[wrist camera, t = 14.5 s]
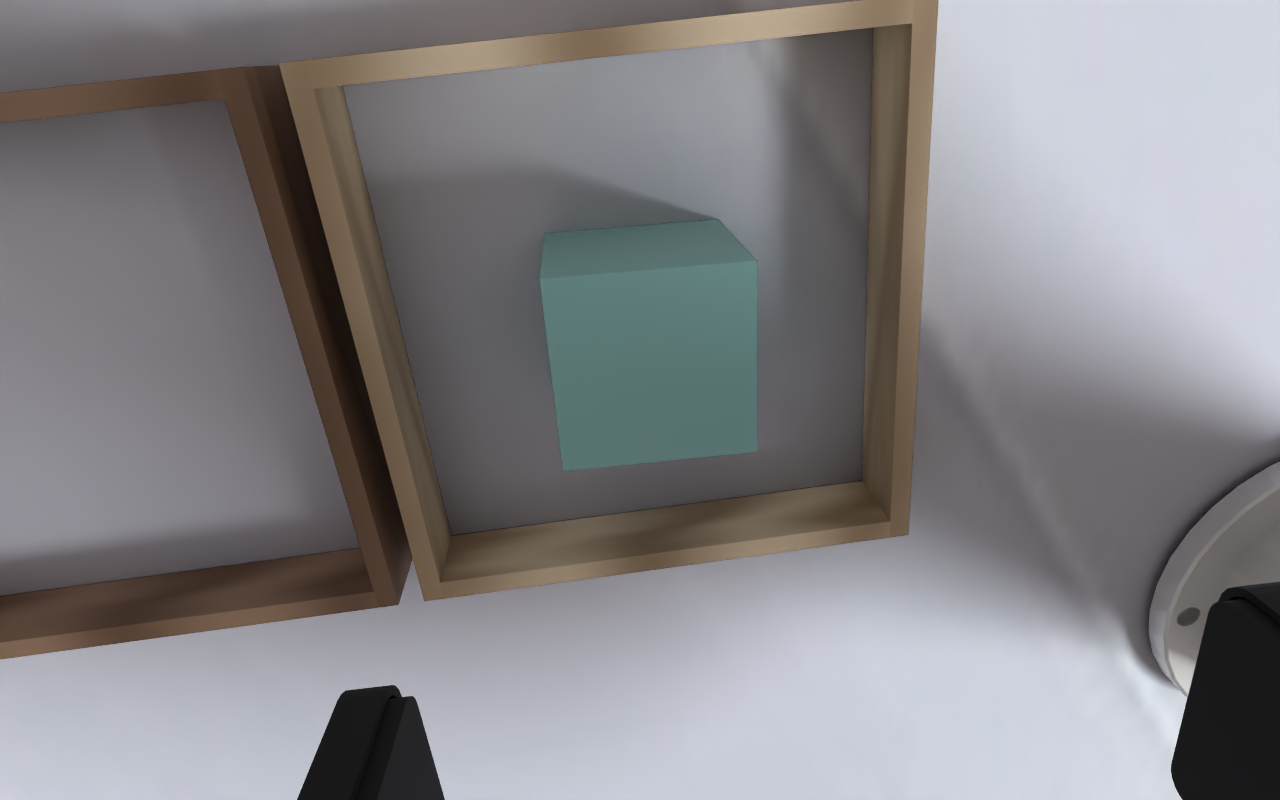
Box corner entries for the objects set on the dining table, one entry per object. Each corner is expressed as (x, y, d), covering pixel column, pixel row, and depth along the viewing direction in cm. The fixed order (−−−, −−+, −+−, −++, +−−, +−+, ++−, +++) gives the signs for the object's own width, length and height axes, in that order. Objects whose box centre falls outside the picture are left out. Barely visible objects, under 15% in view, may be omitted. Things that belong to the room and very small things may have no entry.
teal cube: (717, 218, 22) (757, 260, 18) (720, 377, 24) (757, 452, 20) (544, 232, 22) (539, 279, 17) (563, 392, 24) (562, 471, 19)
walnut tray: (280, 65, 19) (242, 66, 17) (413, 556, 26) (398, 604, 24) (-345, 132, 19) (-469, 143, 17) (-52, 618, 25) (-114, 674, 23)
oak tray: (896, -1, 20) (939, -9, 18) (878, 493, 26) (908, 534, 24) (311, 62, 20) (278, 63, 17) (436, 553, 26) (424, 600, 24)
